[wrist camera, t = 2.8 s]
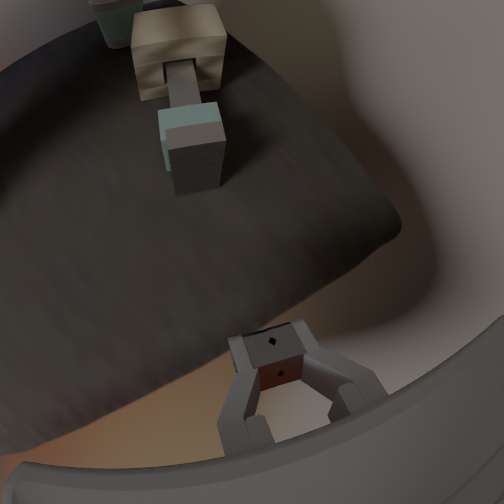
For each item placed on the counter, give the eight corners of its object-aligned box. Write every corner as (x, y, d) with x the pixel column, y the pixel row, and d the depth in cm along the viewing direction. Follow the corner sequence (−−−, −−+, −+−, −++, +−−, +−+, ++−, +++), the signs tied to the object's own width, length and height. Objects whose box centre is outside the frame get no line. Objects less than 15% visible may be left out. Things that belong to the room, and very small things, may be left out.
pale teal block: (166, 171, 26) (160, 141, 21) (163, 143, 27) (157, 110, 22) (219, 162, 27) (224, 130, 22) (213, 134, 28) (216, 101, 23)
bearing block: (141, 101, 29) (130, 47, 20) (140, 61, 30) (134, 13, 22) (219, 89, 31) (227, 35, 22) (209, 51, 33) (214, 3, 24)
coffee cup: (123, 24, 32) (117, -28, 21) (159, 31, 33) (158, -27, 21) (89, 50, 30) (75, -5, 18) (124, 57, 30) (113, -6, 19)
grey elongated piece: (175, 195, 27) (167, 149, 19) (161, 76, 30) (157, 28, 22) (219, 187, 28) (226, 140, 20) (194, 71, 31) (195, 23, 23)
